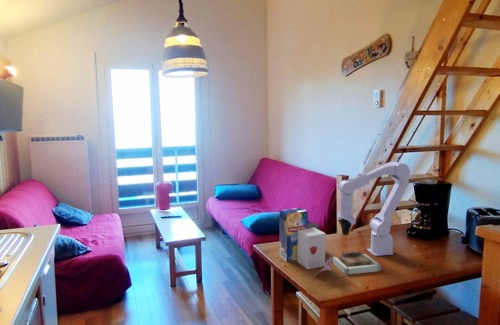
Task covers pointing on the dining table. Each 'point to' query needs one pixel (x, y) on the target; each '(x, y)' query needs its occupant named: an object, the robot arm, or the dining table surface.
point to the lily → (327, 265)
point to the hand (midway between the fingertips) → (345, 234)
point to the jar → (313, 226)
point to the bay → (357, 269)
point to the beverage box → (291, 231)
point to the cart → (354, 259)
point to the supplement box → (311, 248)
